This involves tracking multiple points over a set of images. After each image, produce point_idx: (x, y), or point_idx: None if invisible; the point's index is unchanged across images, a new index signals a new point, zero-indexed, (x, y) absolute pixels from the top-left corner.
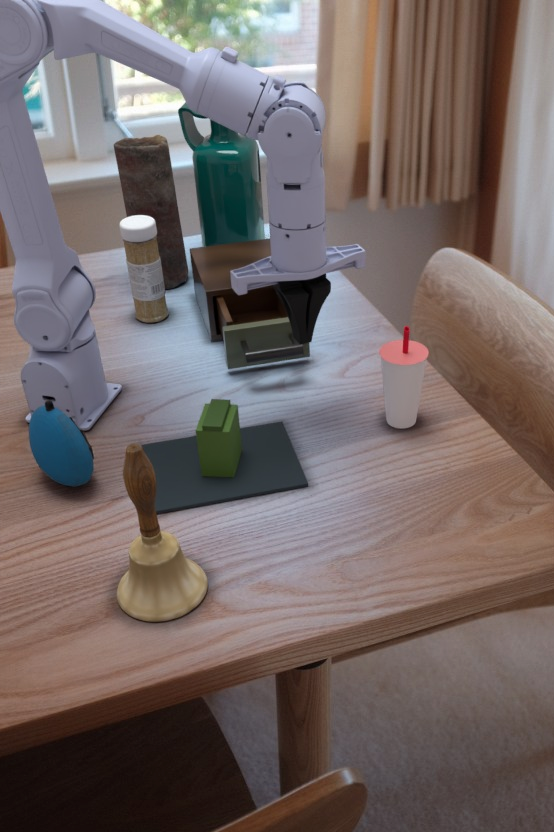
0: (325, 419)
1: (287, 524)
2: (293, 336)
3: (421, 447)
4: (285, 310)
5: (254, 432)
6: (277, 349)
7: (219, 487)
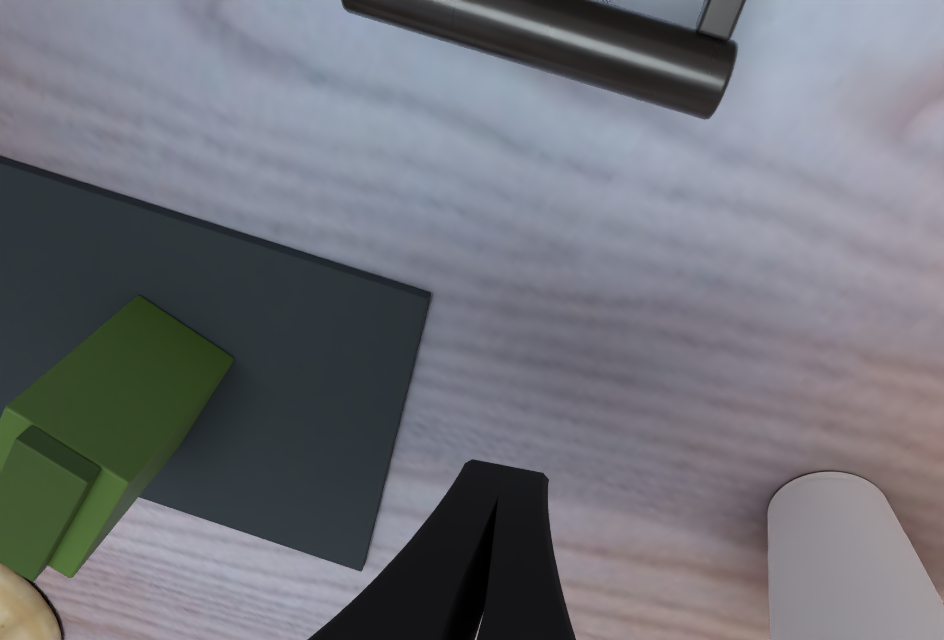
0: (593, 357)
1: (263, 619)
2: (463, 467)
3: (761, 629)
4: (377, 577)
5: (306, 298)
6: (546, 57)
7: None
